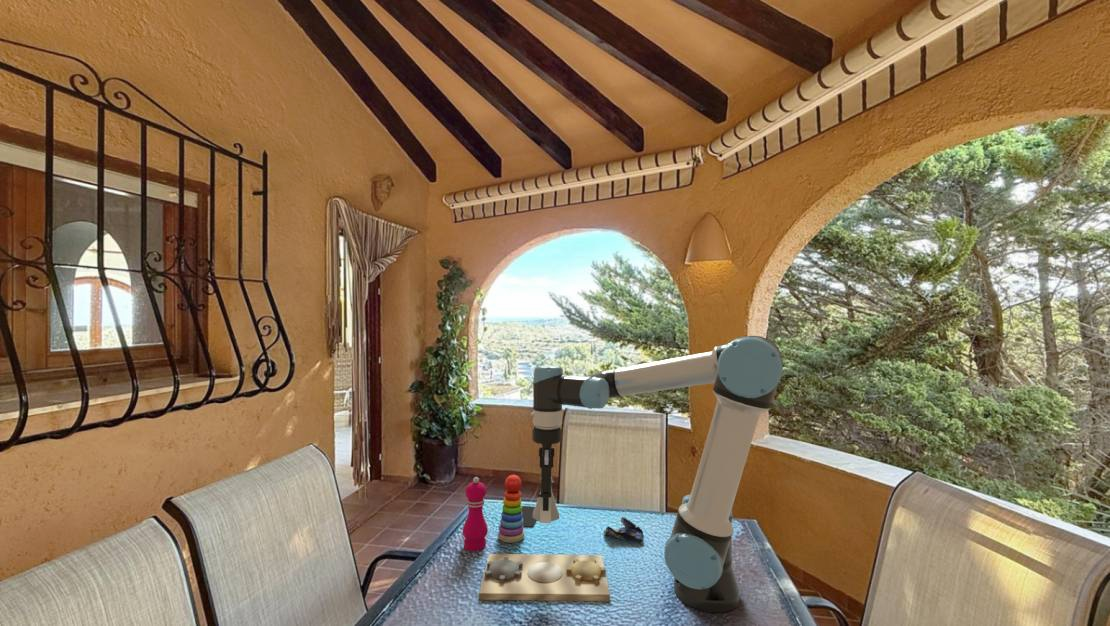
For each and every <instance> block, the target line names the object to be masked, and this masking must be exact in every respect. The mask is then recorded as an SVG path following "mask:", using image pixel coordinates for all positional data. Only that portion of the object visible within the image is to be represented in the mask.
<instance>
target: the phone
mask: <svg viewBox="0 0 1110 626" xmlns="http://www.w3.org/2000/svg"><path fill="white" fill-rule="evenodd" d="M534 508H535V506H530V505H529V506H528V505H522V513H523V516H522V518H523V527H524V528H527V529H528V528H531V529H532V528H534V527H535V525H536V523H537V522H538V521H537V520H535V519H534V518H532V516H533V511H534Z"/></svg>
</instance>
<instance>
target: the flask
mask: <svg viewBox="0 0 1110 626" xmlns="http://www.w3.org/2000/svg"><path fill="white" fill-rule="evenodd" d="M552 480H553V477H552V476H551V481H552ZM540 481H541V477H540ZM540 494H541V490H540V491H539V494H538V495H540ZM534 507H535V508H534V511H533V516H532V518H534V519H535V520H537V521H536V522H539V523H540V497H538V496H537V501H536V503H535V506H534ZM557 520H558V521H559V520H560V513H559V509H558V506H557V503H556V499H555V496H554V493H553V488H552V486H551V522H553V521H557Z"/></svg>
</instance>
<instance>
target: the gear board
mask: <svg viewBox="0 0 1110 626" xmlns="http://www.w3.org/2000/svg"><path fill="white" fill-rule="evenodd" d="M606 571H607V570H606V567H605V565H604V559H603V555H602V554H533V553H532V554H526V553H524V554H523V553H522V554H521V553H520V554H519V553H518V554H517V553H488V557H487V561H486V565H485V568H484V572H483V576H482V580H481V583H480V584H481V585H480V588H479V591H478V600H479V601H483V600H486V601H487V600H489V601H495V600H496V601H570V602H571V601H572V602H573V601H575V602H576V601H579V602H580V601H581V602H582V601H584V602H585V601H587V602H591V601H592V602H598V601H599V602H610V601H611V594H610V588H609V584H608V580H607V575H606V574H607V572H606Z"/></svg>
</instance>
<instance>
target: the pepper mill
mask: <svg viewBox="0 0 1110 626" xmlns="http://www.w3.org/2000/svg"><path fill="white" fill-rule="evenodd" d="M486 495H487V488H486V486H485V484H484V483H483V482H480V478H479V477H477V476H475V477H473V479H472V482H470V483H469V484H468V485H467V486H466V488H465V496H466V498H467V500H466V502H467V503H466V506H467V507H468V514H467V517H466V520H465V522H464V524H463V527H462V536H463V538H464V541H463V548H464V550H465V551H469V552H478V551H482V550H483V549H485V547H486V546H487V539H486V536H487V535H488V534H489V533H488V532H489V530H488V525H487V521H486V519H485V517H484V513H483V511H484V510H483V506H484V505H485V497H486Z"/></svg>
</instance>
